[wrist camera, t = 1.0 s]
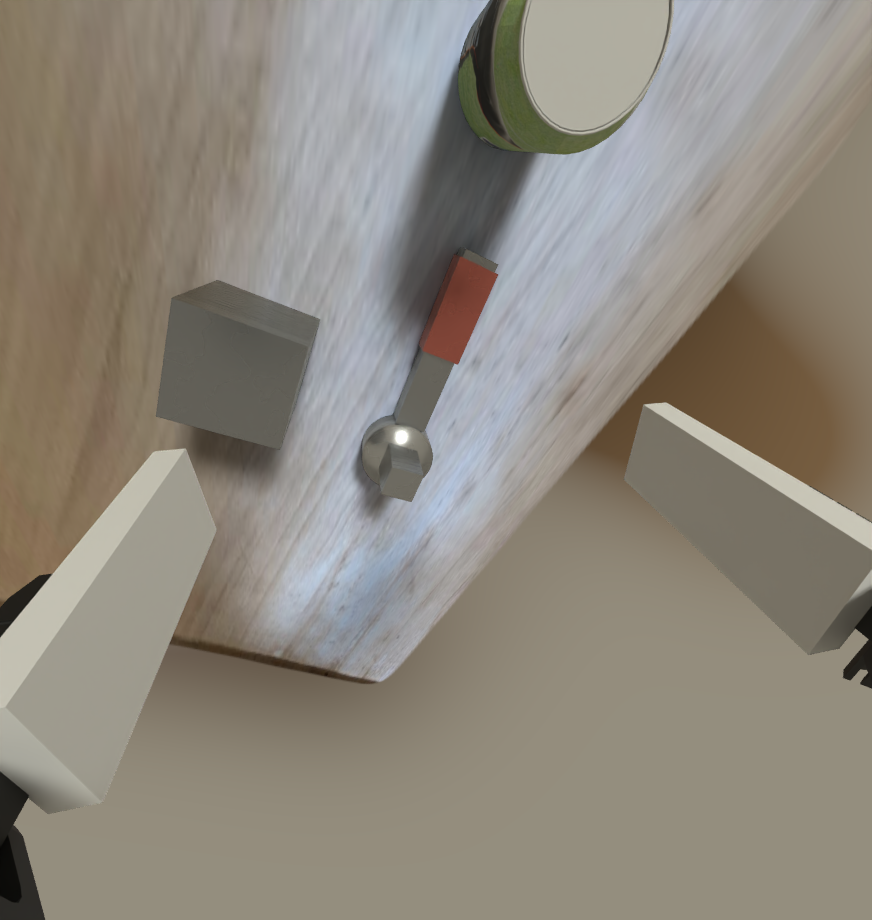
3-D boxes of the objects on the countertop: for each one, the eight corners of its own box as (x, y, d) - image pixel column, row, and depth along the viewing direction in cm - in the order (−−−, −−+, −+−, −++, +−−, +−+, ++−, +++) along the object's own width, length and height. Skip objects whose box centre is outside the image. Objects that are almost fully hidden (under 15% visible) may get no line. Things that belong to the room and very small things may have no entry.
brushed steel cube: (200, 374, 27) (156, 416, 21) (217, 280, 25) (171, 297, 19) (295, 403, 29) (279, 449, 23) (320, 319, 27) (308, 347, 21)
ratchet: (353, 463, 32) (352, 506, 27) (438, 236, 25) (457, 239, 20) (414, 480, 34) (423, 523, 29) (509, 272, 27) (542, 282, 22)
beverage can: (579, 38, 22) (775, -127, 12) (526, 195, 25) (643, 174, 15) (471, -21, 20) (588, -278, 10) (429, 155, 23) (484, 101, 13)
